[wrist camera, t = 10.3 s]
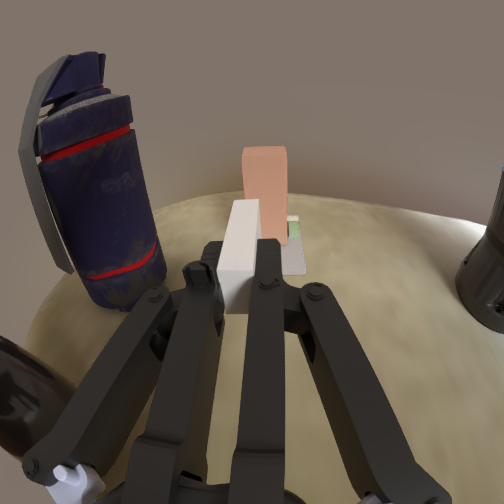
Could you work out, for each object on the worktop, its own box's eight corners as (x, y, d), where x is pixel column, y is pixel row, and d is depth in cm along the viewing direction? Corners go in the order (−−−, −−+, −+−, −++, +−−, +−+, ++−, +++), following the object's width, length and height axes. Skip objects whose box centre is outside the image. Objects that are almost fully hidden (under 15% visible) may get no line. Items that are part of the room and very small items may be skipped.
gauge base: (296, 218, 47) (296, 208, 46) (305, 274, 35) (306, 262, 34) (239, 219, 48) (238, 209, 47) (229, 275, 35) (227, 263, 34)
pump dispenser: (59, 382, 21) (-23, 277, 12) (129, 420, 19) (27, 307, 10) (23, 448, 13) (-83, 360, 4) (92, 504, 11) (-55, 441, 2)
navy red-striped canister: (129, 252, 41) (87, 68, 24) (185, 269, 37) (147, 40, 20) (70, 306, 31) (-5, 95, 14) (121, 340, 27) (27, 54, 10)
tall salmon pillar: (297, 226, 43) (299, 146, 35) (300, 244, 38) (303, 155, 31) (237, 227, 43) (230, 148, 36) (234, 245, 39) (225, 157, 32)
